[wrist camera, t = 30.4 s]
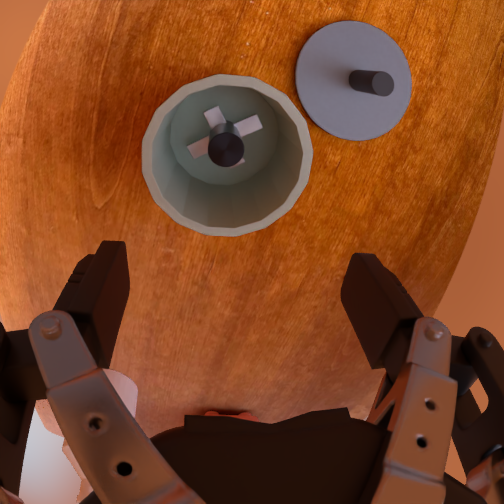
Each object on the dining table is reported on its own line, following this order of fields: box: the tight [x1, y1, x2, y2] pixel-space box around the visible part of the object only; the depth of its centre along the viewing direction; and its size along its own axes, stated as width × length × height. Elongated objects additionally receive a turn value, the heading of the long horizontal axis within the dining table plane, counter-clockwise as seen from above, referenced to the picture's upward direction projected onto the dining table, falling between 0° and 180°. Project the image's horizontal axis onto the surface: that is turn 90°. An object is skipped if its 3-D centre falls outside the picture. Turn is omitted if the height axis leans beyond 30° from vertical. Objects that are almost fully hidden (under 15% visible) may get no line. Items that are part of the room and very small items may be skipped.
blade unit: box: [187, 105, 263, 169], centre depth 28 cm, size 8×6×7 cm
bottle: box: [62, 369, 138, 504], centre depth 41 cm, size 12×12×25 cm
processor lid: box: [295, 21, 412, 141], centre depth 26 cm, size 14×14×7 cm
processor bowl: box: [142, 74, 313, 237], centre depth 27 cm, size 13×13×10 cm
